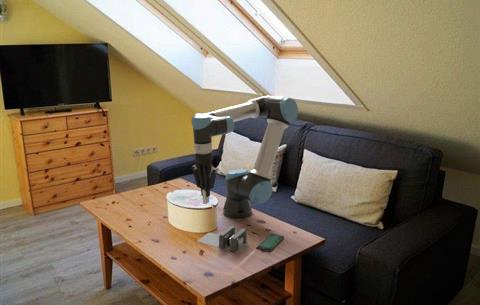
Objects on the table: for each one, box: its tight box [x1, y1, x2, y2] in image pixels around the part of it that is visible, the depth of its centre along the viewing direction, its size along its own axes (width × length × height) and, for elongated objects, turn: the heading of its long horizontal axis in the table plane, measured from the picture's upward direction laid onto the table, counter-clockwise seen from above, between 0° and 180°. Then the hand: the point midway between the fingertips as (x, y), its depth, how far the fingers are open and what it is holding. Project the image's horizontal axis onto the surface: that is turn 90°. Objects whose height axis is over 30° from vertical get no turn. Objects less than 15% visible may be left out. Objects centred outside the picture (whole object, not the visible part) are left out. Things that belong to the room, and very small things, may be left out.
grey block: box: [225, 233, 243, 249], centre depth 172 cm, size 10×4×4 cm, turn 60°
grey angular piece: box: [196, 225, 251, 254], centre depth 174 cm, size 10×22×7 cm, turn 60°
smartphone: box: [255, 233, 285, 253], centre depth 176 cm, size 7×1×15 cm
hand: (206, 202), depth 176 cm, fingers closed
